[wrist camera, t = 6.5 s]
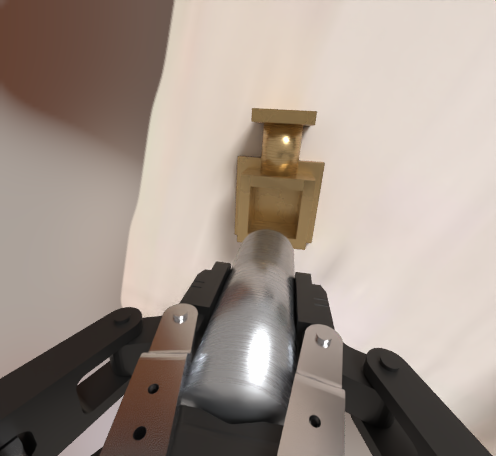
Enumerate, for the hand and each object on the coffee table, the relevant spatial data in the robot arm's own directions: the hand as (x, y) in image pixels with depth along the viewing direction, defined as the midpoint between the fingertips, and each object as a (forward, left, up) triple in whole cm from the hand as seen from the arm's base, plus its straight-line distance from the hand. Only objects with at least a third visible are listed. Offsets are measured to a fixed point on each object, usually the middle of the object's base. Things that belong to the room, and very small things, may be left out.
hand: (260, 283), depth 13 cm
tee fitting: (0, -2, -17) cm, 17 cm away
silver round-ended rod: (0, 0, -3) cm, 3 cm away
